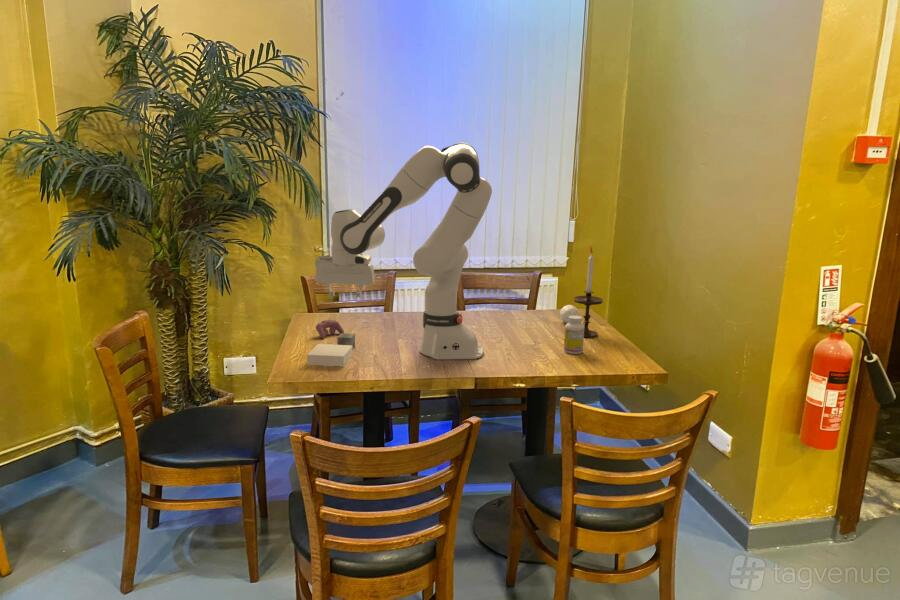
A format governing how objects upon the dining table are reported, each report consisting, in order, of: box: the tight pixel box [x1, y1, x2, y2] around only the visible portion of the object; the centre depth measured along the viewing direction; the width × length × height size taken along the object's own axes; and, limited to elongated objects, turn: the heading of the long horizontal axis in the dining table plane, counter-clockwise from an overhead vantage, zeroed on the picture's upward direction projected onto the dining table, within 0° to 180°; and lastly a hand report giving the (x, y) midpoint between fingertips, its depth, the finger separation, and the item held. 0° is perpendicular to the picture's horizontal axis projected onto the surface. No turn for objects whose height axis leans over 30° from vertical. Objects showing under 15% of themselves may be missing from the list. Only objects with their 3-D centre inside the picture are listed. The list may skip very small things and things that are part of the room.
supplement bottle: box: [563, 315, 585, 355], centre depth 225 cm, size 7×7×13 cm
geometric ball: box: [559, 304, 580, 324], centre depth 264 cm, size 8×8×8 cm
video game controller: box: [315, 319, 345, 340], centre depth 240 cm, size 10×5×7 cm, turn 135°
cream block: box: [306, 343, 354, 368], centre depth 212 cm, size 12×12×4 cm
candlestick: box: [573, 246, 603, 339], centre depth 244 cm, size 11×11×35 cm
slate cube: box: [336, 332, 356, 350], centre depth 224 cm, size 5×5×5 cm
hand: (345, 296), depth 221 cm, fingers open, 8 cm apart
